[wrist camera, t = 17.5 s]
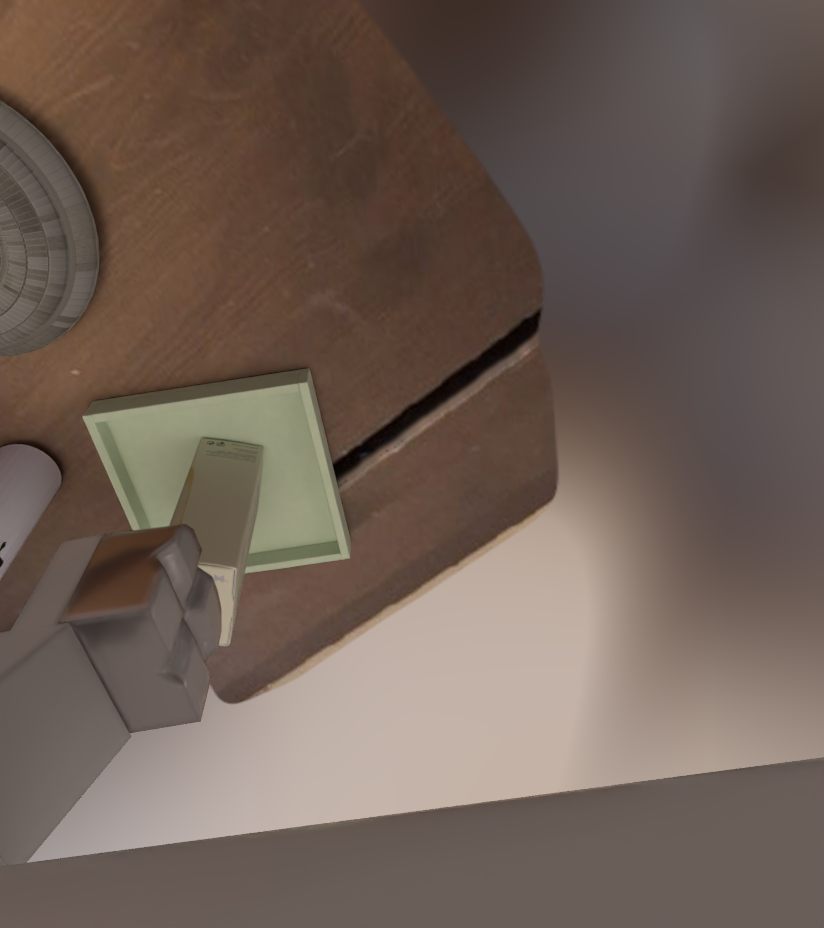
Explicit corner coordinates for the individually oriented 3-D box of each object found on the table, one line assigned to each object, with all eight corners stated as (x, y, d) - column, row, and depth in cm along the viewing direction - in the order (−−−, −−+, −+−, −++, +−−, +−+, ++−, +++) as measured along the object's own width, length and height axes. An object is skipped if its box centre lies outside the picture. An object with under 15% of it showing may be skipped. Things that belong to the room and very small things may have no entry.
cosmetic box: (199, 434, 47) (153, 553, 37) (266, 444, 48) (238, 564, 38) (194, 512, 51) (150, 641, 40) (257, 521, 51) (229, 649, 41)
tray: (309, 367, 46) (307, 381, 44) (350, 540, 53) (350, 558, 52) (92, 400, 46) (81, 416, 44) (164, 567, 54) (157, 586, 52)
